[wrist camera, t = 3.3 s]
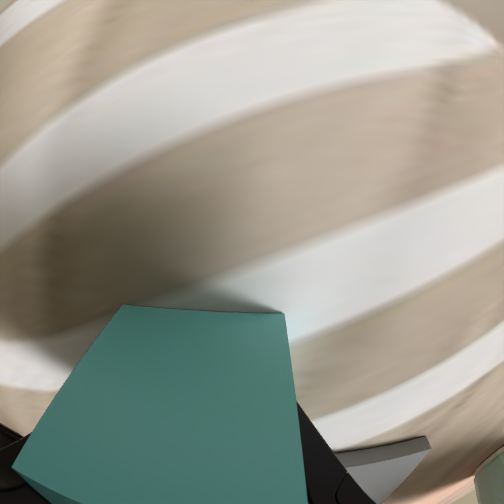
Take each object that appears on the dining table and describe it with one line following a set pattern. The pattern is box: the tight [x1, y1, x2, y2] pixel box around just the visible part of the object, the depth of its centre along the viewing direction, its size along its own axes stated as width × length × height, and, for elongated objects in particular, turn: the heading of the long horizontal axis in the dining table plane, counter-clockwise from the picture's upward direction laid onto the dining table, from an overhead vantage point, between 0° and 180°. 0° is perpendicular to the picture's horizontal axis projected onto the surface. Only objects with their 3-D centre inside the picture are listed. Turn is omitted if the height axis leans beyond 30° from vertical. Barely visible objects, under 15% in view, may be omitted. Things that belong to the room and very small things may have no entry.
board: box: [335, 436, 431, 504], centre depth 13 cm, size 15×12×1 cm
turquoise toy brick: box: [12, 305, 308, 504], centre depth 7 cm, size 5×5×7 cm
